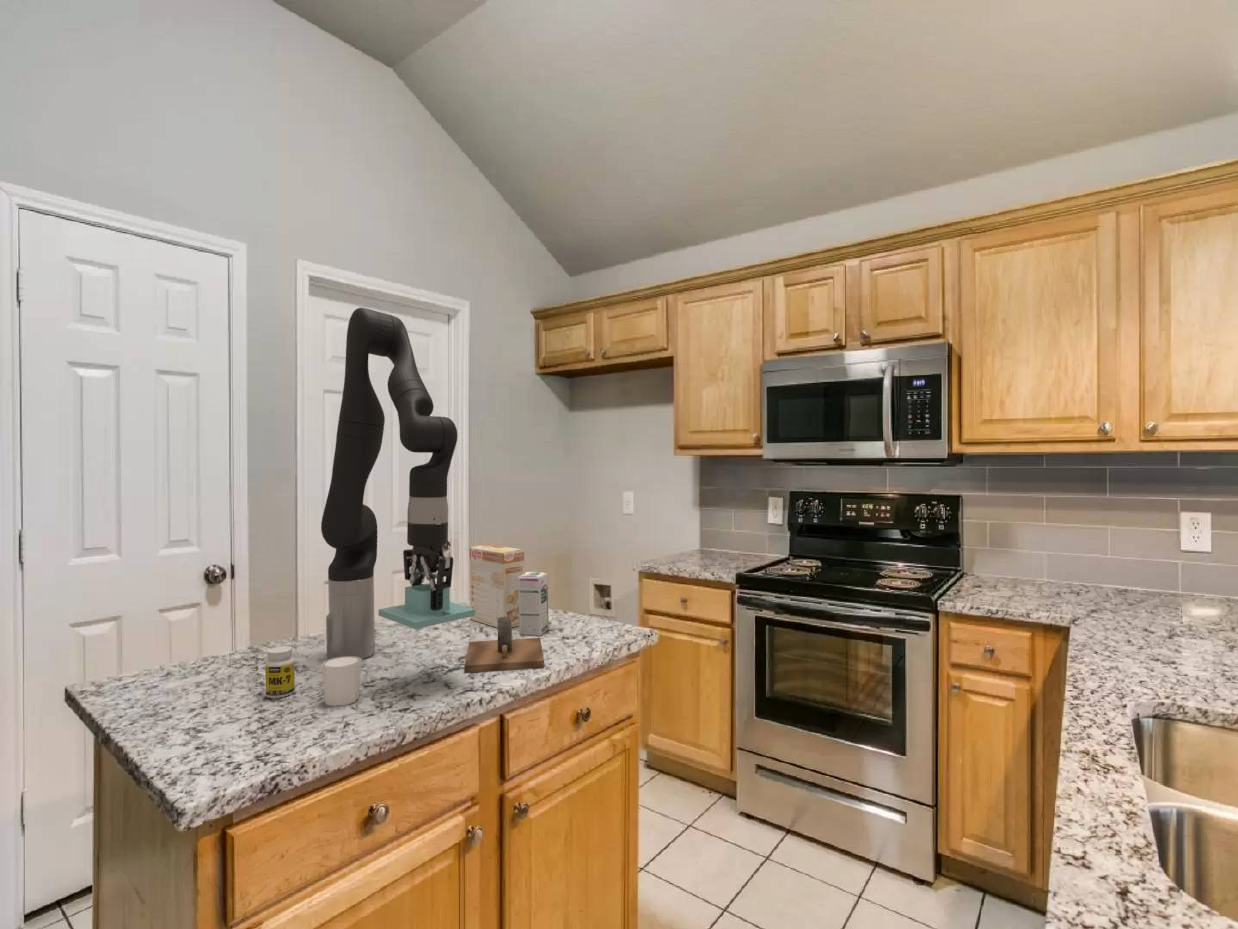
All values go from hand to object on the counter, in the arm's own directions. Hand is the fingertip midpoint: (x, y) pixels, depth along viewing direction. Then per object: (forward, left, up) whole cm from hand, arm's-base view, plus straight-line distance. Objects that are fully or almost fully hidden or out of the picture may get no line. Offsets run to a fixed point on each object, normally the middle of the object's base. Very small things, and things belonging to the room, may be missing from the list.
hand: (426, 606), depth 124 cm
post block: (+15, +12, -15) cm, 24 cm away
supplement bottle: (-26, -1, -15) cm, 30 cm away
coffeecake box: (+13, +41, -15) cm, 46 cm away
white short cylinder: (-14, -6, -15) cm, 22 cm away
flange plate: (0, 0, -2) cm, 2 cm away
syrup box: (+22, +30, -15) cm, 40 cm away
